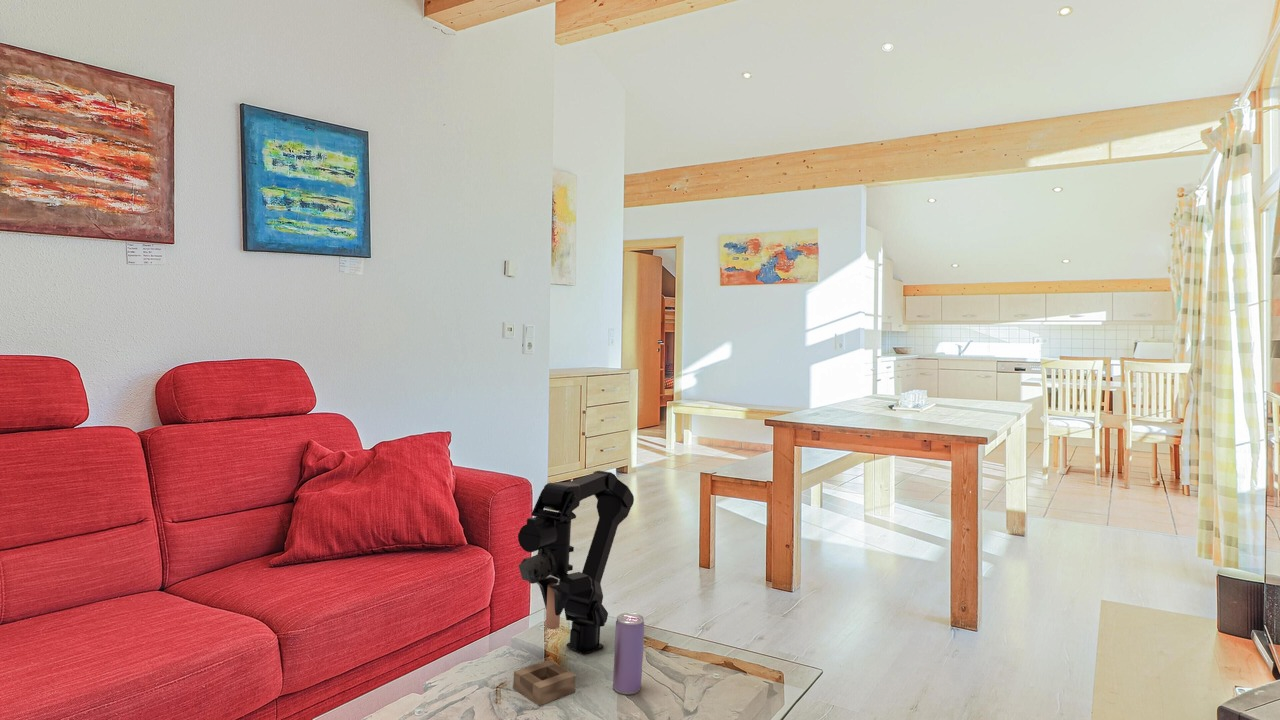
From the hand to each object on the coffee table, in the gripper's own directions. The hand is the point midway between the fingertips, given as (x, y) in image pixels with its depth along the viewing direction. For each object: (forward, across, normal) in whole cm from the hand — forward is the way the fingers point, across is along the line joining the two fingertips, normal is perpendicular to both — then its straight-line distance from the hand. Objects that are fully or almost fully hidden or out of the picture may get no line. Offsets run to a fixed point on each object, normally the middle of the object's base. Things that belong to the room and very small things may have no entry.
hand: (553, 612), depth 158 cm
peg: (+3, 0, 0) cm, 3 cm away
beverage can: (+13, +17, +7) cm, 22 cm away
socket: (+12, +7, -7) cm, 16 cm away
